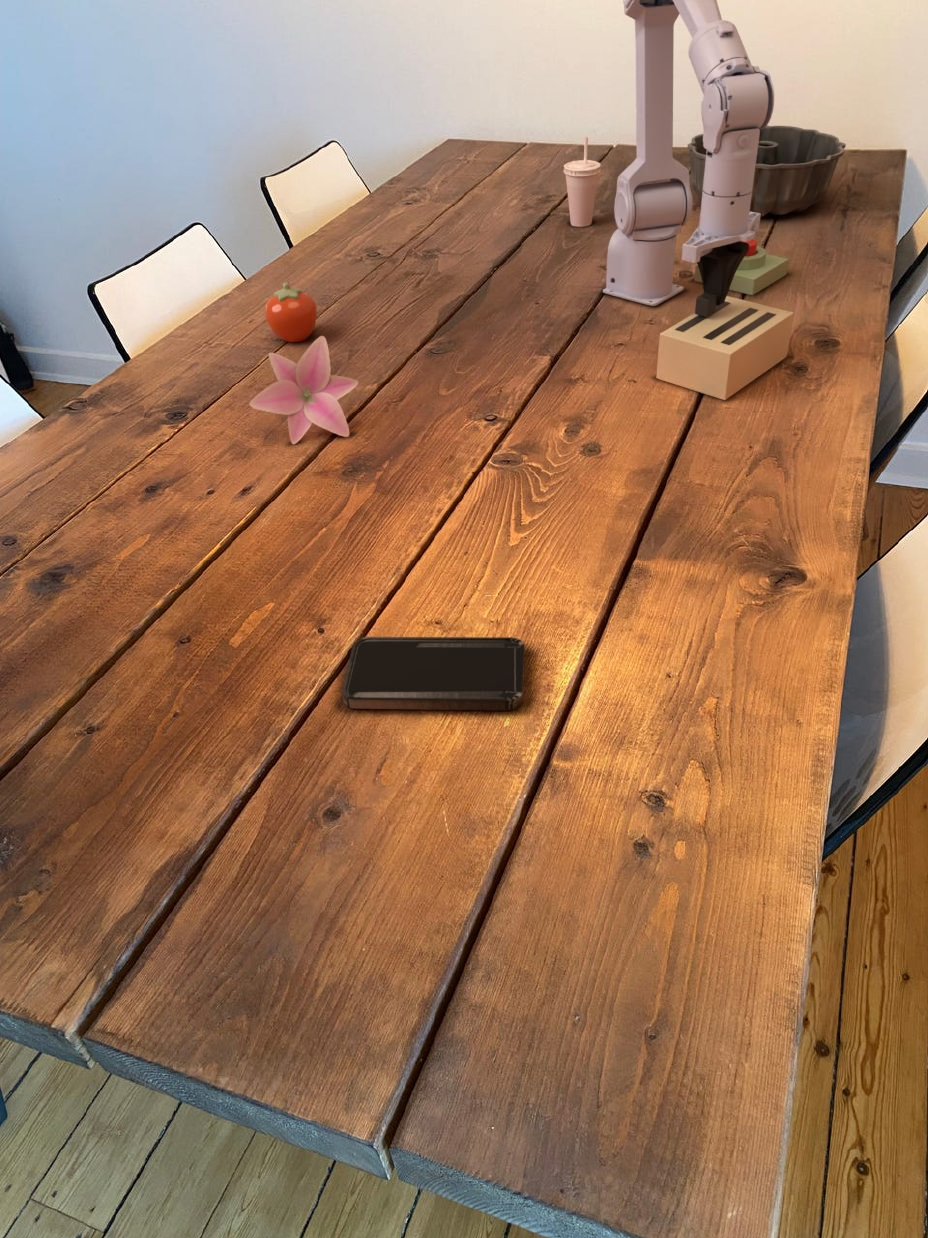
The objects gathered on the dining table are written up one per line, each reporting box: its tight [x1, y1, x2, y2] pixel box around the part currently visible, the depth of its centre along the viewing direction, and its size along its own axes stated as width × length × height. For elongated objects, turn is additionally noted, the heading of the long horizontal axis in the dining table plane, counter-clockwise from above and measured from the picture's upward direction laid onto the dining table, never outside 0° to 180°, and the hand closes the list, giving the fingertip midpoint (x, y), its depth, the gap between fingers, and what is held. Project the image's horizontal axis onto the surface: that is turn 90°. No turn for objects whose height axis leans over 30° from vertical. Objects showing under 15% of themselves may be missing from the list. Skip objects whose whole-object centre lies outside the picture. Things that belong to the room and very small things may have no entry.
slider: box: [694, 292, 717, 317], centre depth 119 cm, size 2×2×2 cm
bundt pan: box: [687, 125, 847, 218], centre depth 168 cm, size 26×26×10 cm
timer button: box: [740, 239, 758, 257], centre depth 142 cm, size 4×4×2 cm
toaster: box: [656, 295, 795, 401], centre depth 120 cm, size 10×15×6 cm, turn 137°
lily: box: [249, 335, 360, 445], centre depth 114 cm, size 12×12×10 cm
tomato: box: [264, 281, 318, 343], centre depth 135 cm, size 7×7×8 cm
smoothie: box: [563, 136, 602, 228], centre depth 164 cm, size 6×6×14 cm
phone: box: [341, 636, 525, 711], centre depth 80 cm, size 8×1×15 cm
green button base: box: [693, 245, 790, 296], centre depth 143 cm, size 10×10×4 cm
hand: (714, 302), depth 121 cm, fingers closed
